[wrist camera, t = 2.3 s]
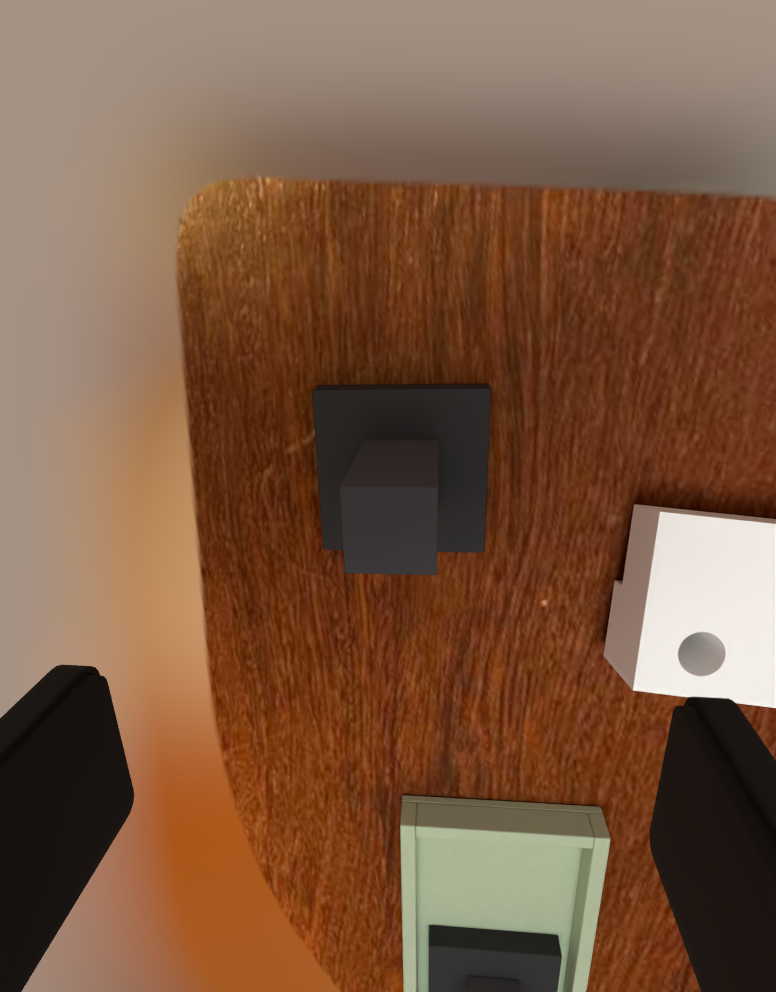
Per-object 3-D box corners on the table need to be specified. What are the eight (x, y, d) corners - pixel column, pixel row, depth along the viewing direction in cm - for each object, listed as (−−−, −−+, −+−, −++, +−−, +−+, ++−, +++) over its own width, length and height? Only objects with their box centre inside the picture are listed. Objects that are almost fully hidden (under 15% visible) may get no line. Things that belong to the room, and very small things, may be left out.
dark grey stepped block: (328, 538, 25) (289, 624, 19) (318, 385, 23) (269, 422, 16) (482, 541, 25) (497, 630, 18) (488, 383, 22) (508, 422, 16)
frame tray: (406, 1000, 37) (404, 1036, 35) (402, 794, 30) (400, 825, 29) (569, 1015, 36) (576, 1053, 34) (601, 806, 30) (611, 839, 28)
